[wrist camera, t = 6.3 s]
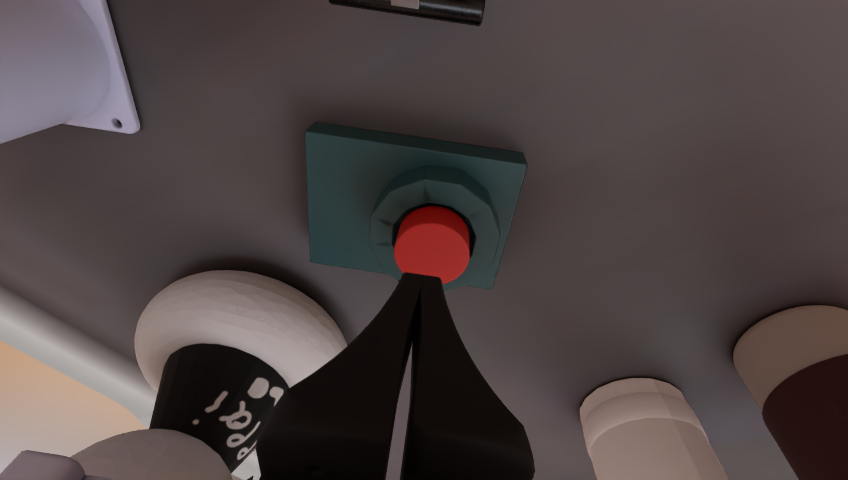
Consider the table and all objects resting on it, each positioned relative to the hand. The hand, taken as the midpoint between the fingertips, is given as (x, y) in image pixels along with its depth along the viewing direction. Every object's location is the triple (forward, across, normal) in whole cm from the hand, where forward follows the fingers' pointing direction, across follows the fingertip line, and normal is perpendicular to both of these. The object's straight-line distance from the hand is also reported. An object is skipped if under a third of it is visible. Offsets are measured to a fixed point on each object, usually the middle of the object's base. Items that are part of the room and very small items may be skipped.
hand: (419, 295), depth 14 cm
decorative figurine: (+9, +11, +14) cm, 20 cm away
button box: (+9, +1, +1) cm, 9 cm away
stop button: (+6, 0, +1) cm, 6 cm away
